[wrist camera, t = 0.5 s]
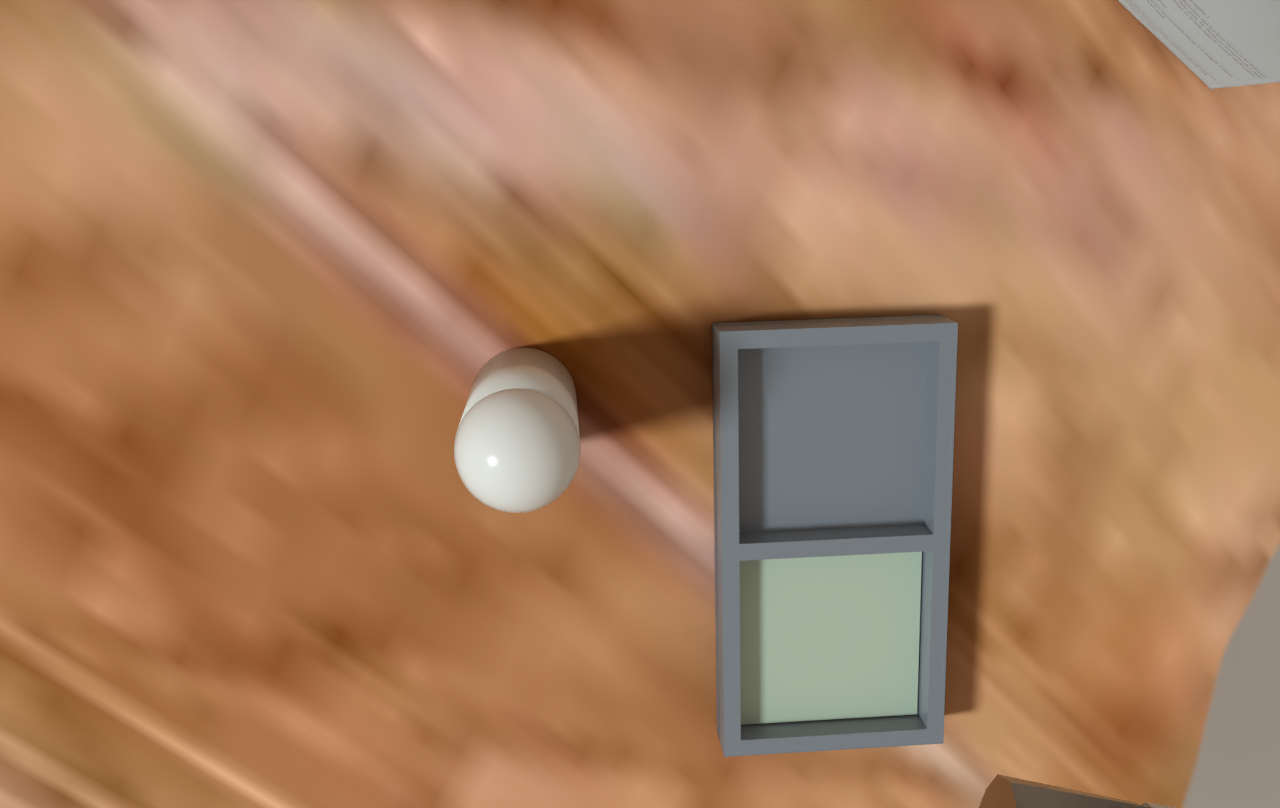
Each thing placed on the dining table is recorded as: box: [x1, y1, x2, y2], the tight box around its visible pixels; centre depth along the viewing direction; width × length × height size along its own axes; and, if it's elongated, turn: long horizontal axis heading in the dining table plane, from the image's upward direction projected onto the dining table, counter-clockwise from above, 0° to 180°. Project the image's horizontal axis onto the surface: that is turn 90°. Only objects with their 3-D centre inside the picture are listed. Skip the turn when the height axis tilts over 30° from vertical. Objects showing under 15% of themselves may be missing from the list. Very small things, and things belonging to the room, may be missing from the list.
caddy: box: [712, 315, 958, 757], centre depth 54 cm, size 20×11×2 cm, turn 2°
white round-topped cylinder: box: [454, 347, 580, 513], centre depth 47 cm, size 5×5×11 cm
